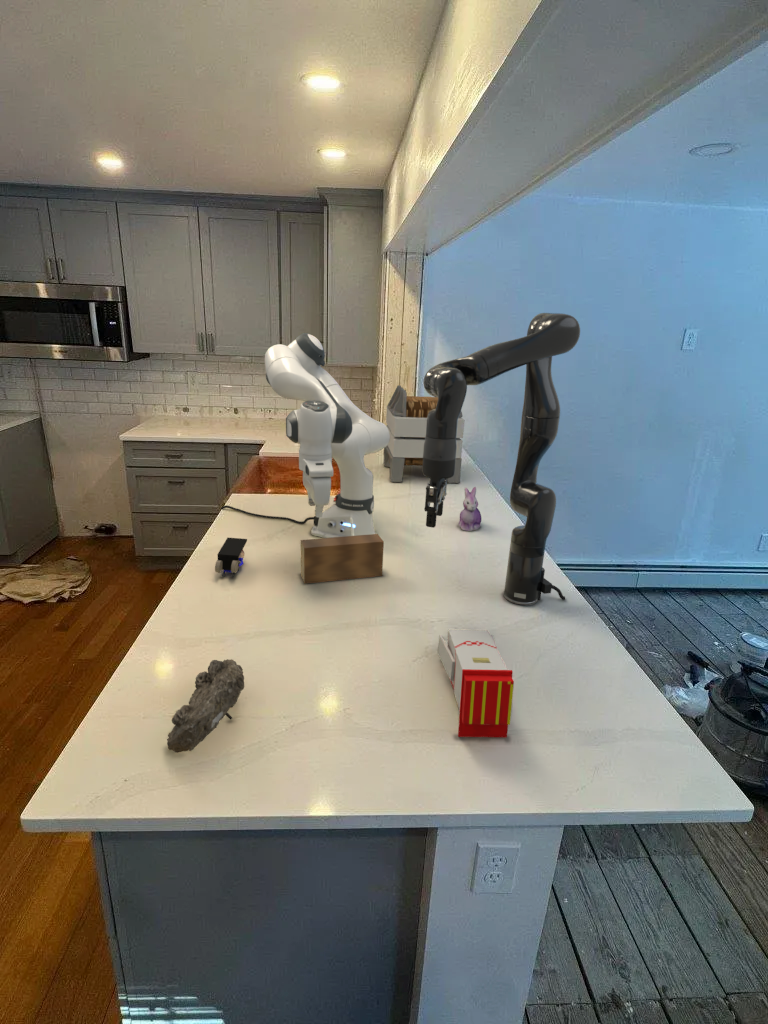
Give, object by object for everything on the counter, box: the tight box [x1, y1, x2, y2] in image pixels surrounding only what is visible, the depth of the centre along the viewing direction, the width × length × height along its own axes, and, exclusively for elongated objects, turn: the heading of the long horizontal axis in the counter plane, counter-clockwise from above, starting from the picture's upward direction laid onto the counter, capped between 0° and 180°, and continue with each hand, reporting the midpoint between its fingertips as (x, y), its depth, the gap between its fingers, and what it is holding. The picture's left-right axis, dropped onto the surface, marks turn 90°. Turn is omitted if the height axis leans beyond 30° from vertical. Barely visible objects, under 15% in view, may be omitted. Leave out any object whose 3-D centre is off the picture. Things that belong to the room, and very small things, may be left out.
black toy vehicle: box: [214, 537, 248, 578], centre depth 166 cm, size 7×8×15 cm
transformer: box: [383, 384, 465, 484], centre depth 268 cm, size 34×33×41 cm
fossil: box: [166, 658, 245, 754], centre depth 106 cm, size 22×10×15 cm
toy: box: [437, 628, 515, 738], centre depth 117 cm, size 12×13×30 cm
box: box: [299, 533, 385, 584], centre depth 165 cm, size 23×6×11 cm, turn 108°
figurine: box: [458, 486, 482, 532], centre depth 206 cm, size 9×10×15 cm
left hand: (315, 510), depth 158 cm, fingers open, 8 cm apart
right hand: (434, 520), depth 136 cm, fingers open, 8 cm apart
